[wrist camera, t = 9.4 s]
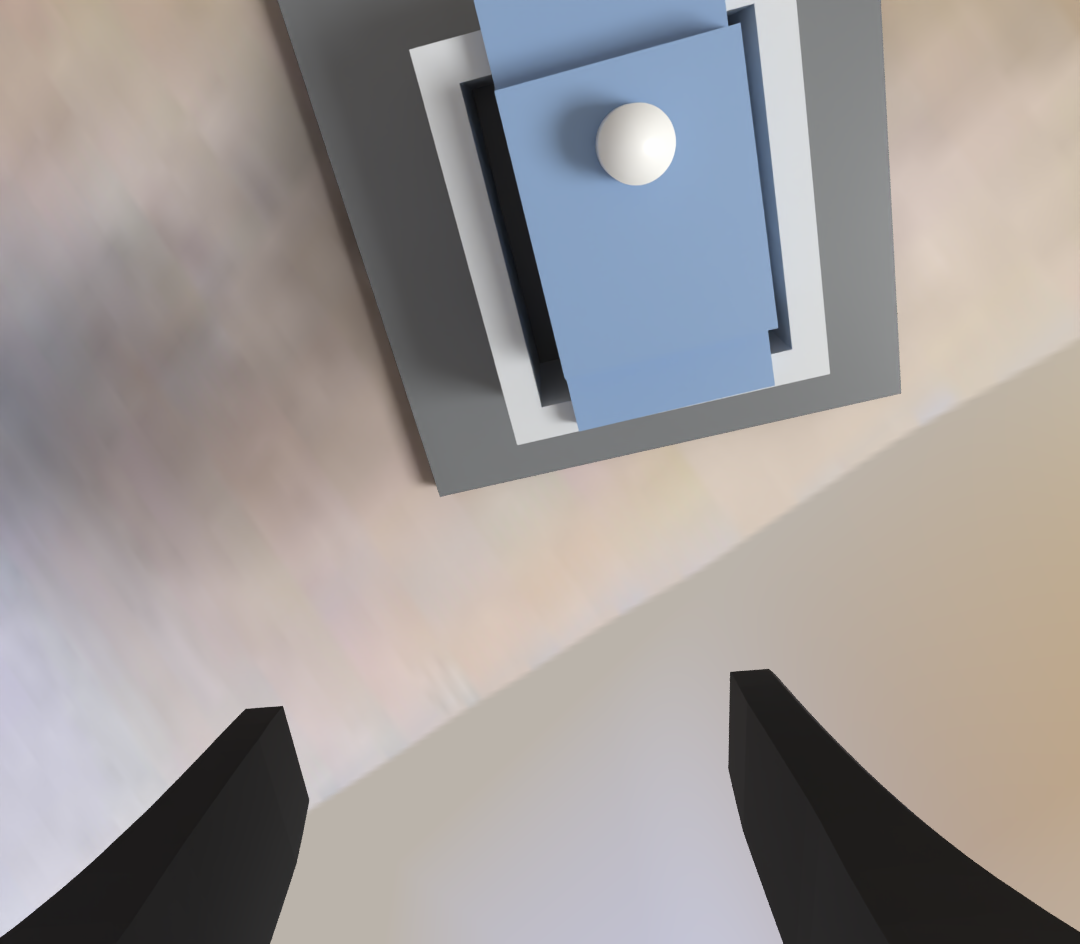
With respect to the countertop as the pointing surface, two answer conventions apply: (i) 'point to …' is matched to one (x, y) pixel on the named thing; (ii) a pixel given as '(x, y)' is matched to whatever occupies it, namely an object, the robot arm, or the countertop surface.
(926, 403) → the countertop surface
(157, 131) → the countertop surface
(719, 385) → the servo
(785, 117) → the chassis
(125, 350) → the countertop surface
